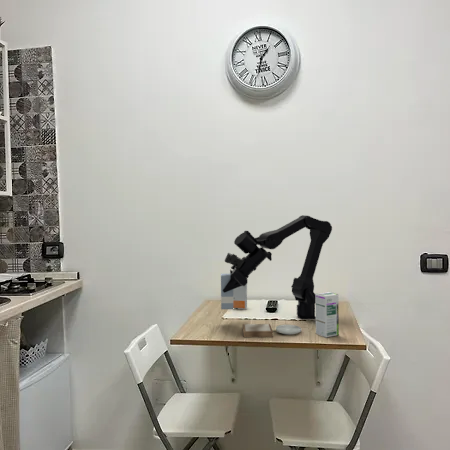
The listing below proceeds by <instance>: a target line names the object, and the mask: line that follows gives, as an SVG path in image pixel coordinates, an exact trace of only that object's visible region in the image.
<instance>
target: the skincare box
mask: <svg viewBox="0 0 450 450" xmlns="http://www.w3.org/2000/svg"><path fill="white" fill-rule="evenodd" d="M233 308H238V309H237V310H244V309H246V310H247V308H248V283H247V284H246V285H245V286H240V287H237V288H235V289H233Z"/></svg>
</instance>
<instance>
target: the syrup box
mask: <svg viewBox="0 0 450 450" xmlns="http://www.w3.org/2000/svg"><path fill="white" fill-rule="evenodd" d="M339 305H340V303H339V294H338V293H336V292H332V291H331V292H330V291H326V292H319V293H315V317H316V319H315V334H316V335H318V336H320V337H322V338H330V337H335V336H339V332H340V329H339V323H340V322H339V320H340V319H339V318H340V317H339V310H340V309H339V308H340V307H339Z"/></svg>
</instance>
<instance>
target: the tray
mask: <svg viewBox="0 0 450 450" xmlns="http://www.w3.org/2000/svg"><path fill="white" fill-rule="evenodd" d="M242 333H243V338H272V337H274V331H273V329H272V325H271V323H243V324H242Z"/></svg>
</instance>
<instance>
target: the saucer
mask: <svg viewBox="0 0 450 450" xmlns="http://www.w3.org/2000/svg"><path fill="white" fill-rule="evenodd" d="M275 331H276V332H277V333H280V334H283V335H295V334H299V333H301V332H302V327H301V326H299V325H296V324H295V325H294V324H280V325H277V326H276V327H275Z"/></svg>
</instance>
